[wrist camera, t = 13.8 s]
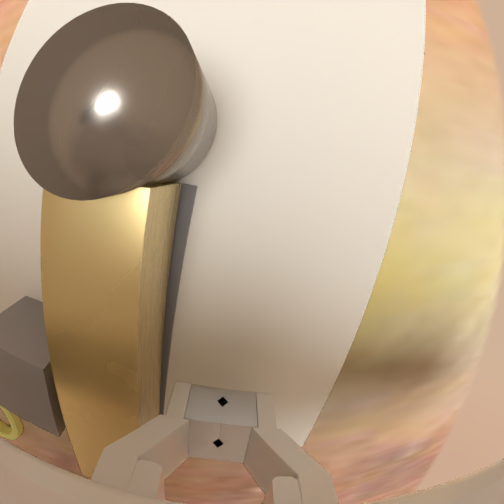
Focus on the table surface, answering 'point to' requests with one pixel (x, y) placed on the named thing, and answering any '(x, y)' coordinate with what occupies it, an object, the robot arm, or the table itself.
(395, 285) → the table surface
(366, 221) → the lock plate
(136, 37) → the swing arm
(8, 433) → the key
